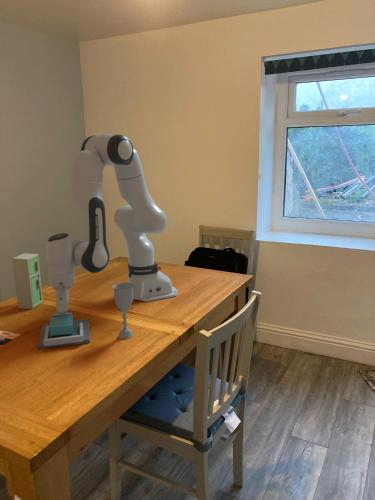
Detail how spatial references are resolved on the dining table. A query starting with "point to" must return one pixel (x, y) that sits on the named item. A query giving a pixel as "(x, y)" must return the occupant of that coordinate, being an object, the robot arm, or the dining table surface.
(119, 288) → the chalice
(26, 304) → the toy refrigerator
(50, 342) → the loading dock
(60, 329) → the teal handled box
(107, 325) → the dining table surface
